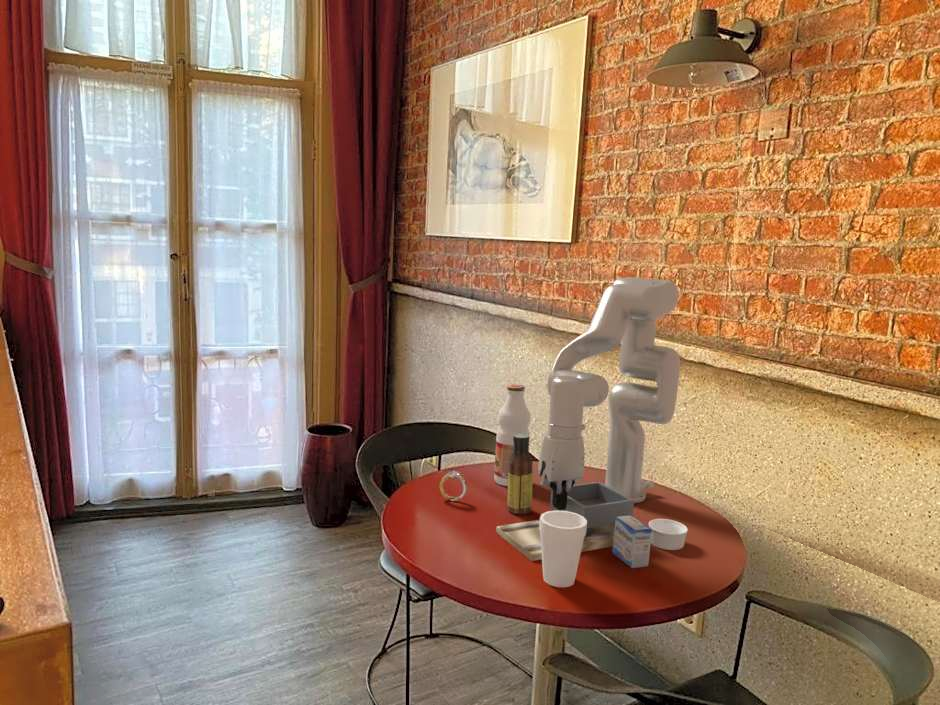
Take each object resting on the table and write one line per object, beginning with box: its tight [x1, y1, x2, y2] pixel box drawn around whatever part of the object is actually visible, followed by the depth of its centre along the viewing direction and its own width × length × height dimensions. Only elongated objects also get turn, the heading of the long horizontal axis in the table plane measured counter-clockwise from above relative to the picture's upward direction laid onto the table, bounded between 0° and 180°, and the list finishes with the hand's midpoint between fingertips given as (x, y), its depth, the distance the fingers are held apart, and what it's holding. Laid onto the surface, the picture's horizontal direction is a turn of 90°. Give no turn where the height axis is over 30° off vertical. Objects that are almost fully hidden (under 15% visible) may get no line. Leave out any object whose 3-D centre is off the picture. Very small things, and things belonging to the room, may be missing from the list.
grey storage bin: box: [549, 481, 635, 536], centre depth 168 cm, size 14×14×7 cm
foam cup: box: [539, 510, 587, 588], centre depth 144 cm, size 10×9×13 cm
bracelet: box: [439, 470, 468, 502], centre depth 185 cm, size 7×3×8 cm, turn 74°
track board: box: [495, 519, 615, 562], centre depth 166 cm, size 30×16×2 cm, turn 117°
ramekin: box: [648, 518, 689, 551], centre depth 165 cm, size 9×9×4 cm
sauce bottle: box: [507, 434, 534, 515], centre depth 179 cm, size 7×6×20 cm
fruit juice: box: [493, 383, 531, 487], centre depth 200 cm, size 9×9×28 cm
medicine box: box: [611, 515, 652, 569], centre depth 155 cm, size 8×4×9 cm, turn 21°
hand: (559, 507), depth 164 cm, fingers closed
